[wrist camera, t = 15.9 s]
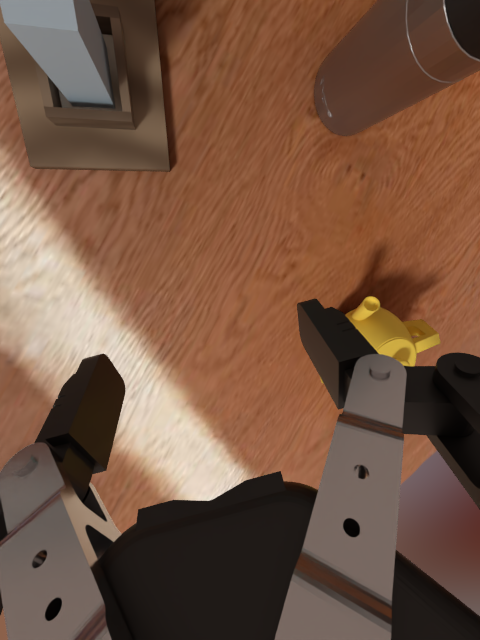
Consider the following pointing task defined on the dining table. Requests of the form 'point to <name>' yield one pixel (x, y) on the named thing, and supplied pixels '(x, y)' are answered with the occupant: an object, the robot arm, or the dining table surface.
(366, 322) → the teapot
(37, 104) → the socket board
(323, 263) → the dining table surface
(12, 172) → the dining table surface
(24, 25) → the gray rectangular block
